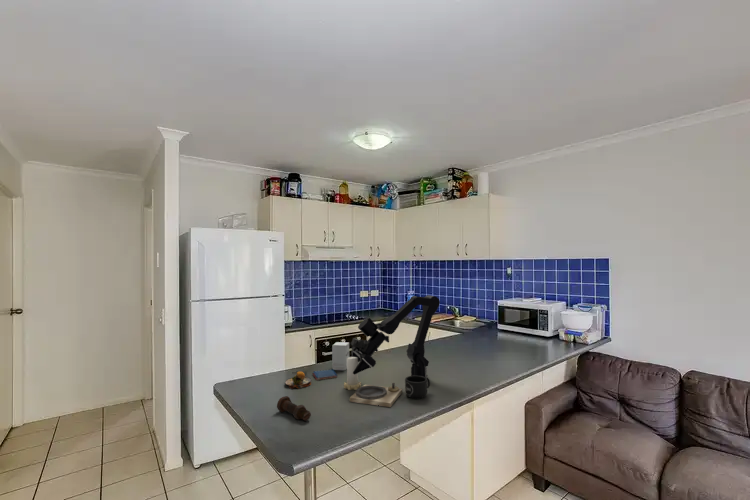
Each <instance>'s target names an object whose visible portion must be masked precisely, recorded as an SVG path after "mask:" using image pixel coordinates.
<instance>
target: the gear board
mask: <svg viewBox="0 0 750 500" xmlns="http://www.w3.org/2000/svg"><path fill="white" fill-rule="evenodd" d="M391 383H392V384H391V386H382V385H374V384H363V385H361V387H360V388H358V389H357V390H355V392H354V393H353V394H352V395H351V396H350V397H349V402H351V403H358V404H365V405H372V406H378V405H379V406H380V407H387V408H391V407H392V406H393V405H394V403H395V402H397V401H396V400H398V398H399V397H400V396H401V394H403V389H402V388H399V387H398V386H395V385H396V384H395V382H391ZM379 406H378V407H379Z"/></svg>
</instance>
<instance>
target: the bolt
mask: <svg viewBox="0 0 750 500" xmlns="http://www.w3.org/2000/svg"><path fill="white" fill-rule="evenodd" d="M276 408H277V410H278V411H279V412H281V413H284V412H287V413H290V414H291V415H293V418H294V419H295V420H298V421H299V420H303V421H305V422H306V421H308V420H309V419H310V418H311V416H312V415H311V411H309V410H307V408H306V407H305V405H303V404H300V405H298V404H295V403H294V402H292V400H291V399H290V397H289V396H288V395H287V396H282V397H280V398H279V399H278V401H277V404H276Z"/></svg>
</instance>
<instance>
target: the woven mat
mask: <svg viewBox="0 0 750 500" xmlns="http://www.w3.org/2000/svg"><path fill="white" fill-rule="evenodd" d="M312 377H314V379H315V380H316V381H323V380H329V379H337V377H338V373H336V370H333V369H332V368H330V369H325V370H324V369H322V370H316V371H313V372H312Z"/></svg>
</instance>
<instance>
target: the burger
mask: <svg viewBox="0 0 750 500" xmlns="http://www.w3.org/2000/svg"><path fill="white" fill-rule="evenodd" d="M304 370H305V369H303V370H302V371H297V372H296V374H295V375H294V376H293V377H291V378H288V379H286V380H285V382H284V383H285V384H286V385H287V386H288V388H289V389H291V390H293V389H294V388H297V389H302V388H307V387H309V386H311V385H312V379H311V378H310V377H308V376H306V374H305V373H304V372H303V371H304Z"/></svg>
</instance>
